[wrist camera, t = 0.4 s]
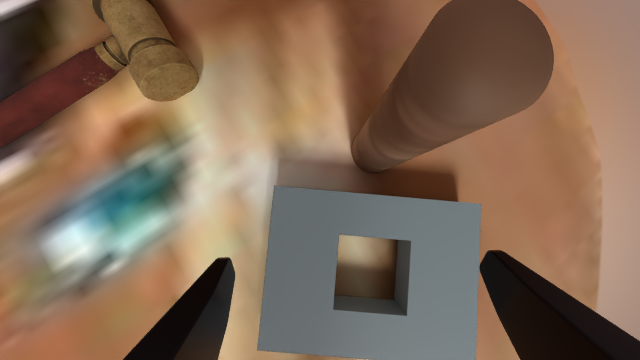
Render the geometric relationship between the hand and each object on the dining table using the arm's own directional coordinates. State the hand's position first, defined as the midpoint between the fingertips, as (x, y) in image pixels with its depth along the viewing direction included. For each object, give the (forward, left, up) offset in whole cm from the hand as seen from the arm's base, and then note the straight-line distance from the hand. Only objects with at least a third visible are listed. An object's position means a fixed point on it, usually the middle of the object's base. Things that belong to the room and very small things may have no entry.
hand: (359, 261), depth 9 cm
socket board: (-4, 0, -13) cm, 14 cm away
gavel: (+23, +11, -14) cm, 29 cm away
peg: (+3, -7, -13) cm, 15 cm away
